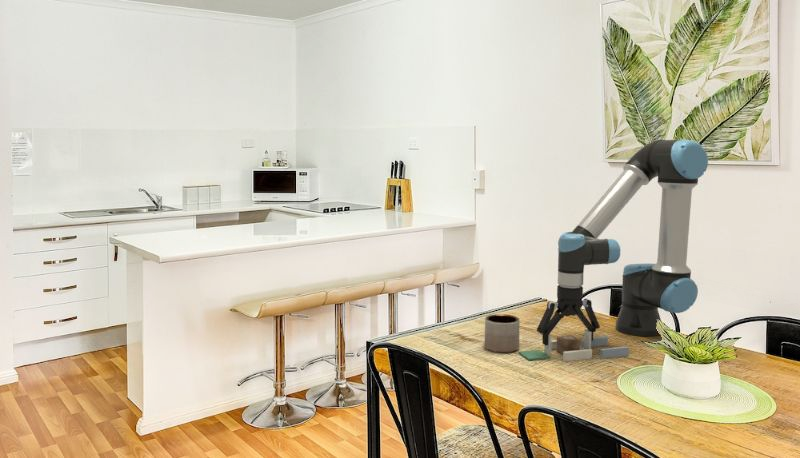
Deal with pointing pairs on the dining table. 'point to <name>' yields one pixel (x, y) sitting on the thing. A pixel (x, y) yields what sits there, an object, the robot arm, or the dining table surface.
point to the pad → (534, 355)
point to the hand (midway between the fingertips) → (567, 353)
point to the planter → (502, 333)
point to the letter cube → (567, 344)
